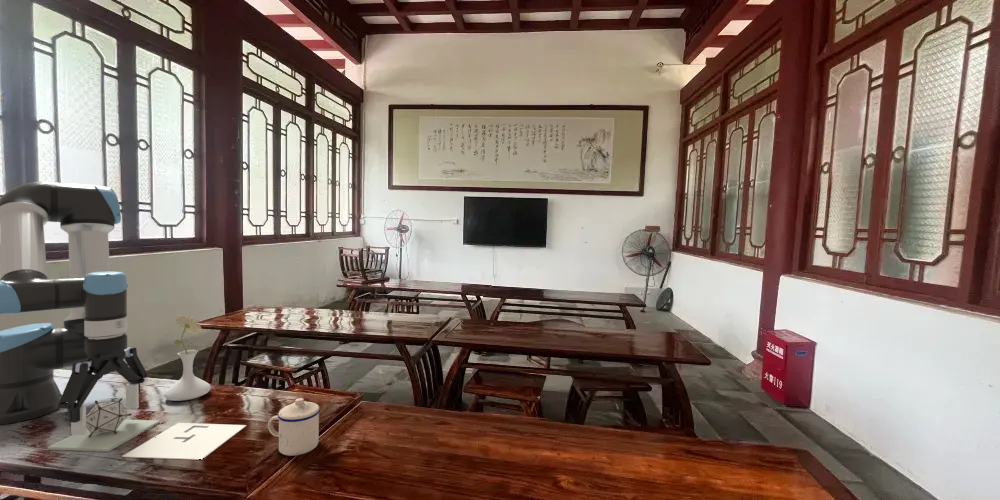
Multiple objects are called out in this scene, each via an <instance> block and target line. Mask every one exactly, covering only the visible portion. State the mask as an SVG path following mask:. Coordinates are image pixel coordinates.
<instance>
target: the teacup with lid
mask: <svg viewBox="0 0 1000 500" xmlns="http://www.w3.org/2000/svg"><path fill="white" fill-rule="evenodd" d="M320 412H321V408H320V406H319V404H317V403H315V402H311V401H306V400H305V399H304V397H299V398H296V399H295V400H294V402H293V403H291V404H288V405H285V406H283V407H282V408H281V409H280V410H279V412H278V414H277V415H273V416H272V417H271V418H270V419H269V420H268V422H267V428H268V431H269V433H270V434H271V435H272V436H274V437H278V452H279V453H280V454H282V455H284V456H289V457H290V456H300V455H304V454H307V453H309V452H311V451H313V450H314V449H315V448H317V446H318V445H319V441H320V440H319V435H320V434H319V433H320V430H319V428H320V427H319V426H320V425H319V424H320V421H319V420H320V417H319V416H320ZM276 420H278V431H277V430H276V428H275V427H274V422H273V421H276Z"/></svg>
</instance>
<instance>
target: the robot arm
mask: <svg viewBox="0 0 1000 500" xmlns="http://www.w3.org/2000/svg"><path fill="white" fill-rule="evenodd" d="M121 219H122V215H121V206H120V201H119V198H118V195H117V193H116V192H115V189H113V188H111V187H109V186H102V185H96V184H84V183H83V184H81V183H80V184H79V183H66V182H56V181H55V182H50V181H32V182H27V183H23V184H21V185H18V186H15V187H14V188H12V189H10V190H9V191H7V192H5V193H4V194H3V195H2V196H0V314H20V313H29V312H41V311H49V310H64V309H70V314H69V315H68V316H67V317H66V318H65V319H63V326H61V327H60V326H59V327H54V325H53V324H52V323H51V322H42V323H31V324H26V325H20V326H15V327H11V328H6V329H4V330H0V425H8V424H13V423H18V422H23V421H28V420H32V419H36V418H39V417H42V416H46V415H48V414H51V413H53V412H55V411H57V410H60V409H61V410H63V409H64V410H67V411H68V413H67V415H68V417H67V418H68V419H67V420H68V422H69V423H70V436H72V435H84V434H86V428H87V427H86V415H87V406H86V405H84V403H85V401H86V400H87V398H88V397H89V395H90V394H91V392H92V391H93V389H94V388H95V385H96V384H97V382H98V381H99V380H101V379H102V378H103V377H104V376H106V375H108V374H110V373H112V372H117V374H119V375H120V376H121V377H123V379H125V380H126V381H127V383H126V384H125V409H126V410H138V409H139V408H140V403H139V401H140V399H139V398H140V397H139V396H140V393H141V384H143V383H144V382H145V379H147V377H148V372H147V370H146V369H145V367H144V365H143V363H142V362H141V360H140V358H139V356H138V351H137V348H136V347H134V346H133V347H130V346H129V347H128V334H127V331H128V313H127V311H128V310H127V309H128V305H127V304H128V303H127V300H128V299H127V297H128V290H127V289H128V286H129V285H128V284H129V283H128V280H127V274H126V273H124V272H123V271H111V269H110V266H111V265H110V248H109V247H110V246H109V245H110V244H109V234H110V233H111V232H112V231H114V230H115V225H118V224H120V223H121V221H122V220H121ZM48 222H50V223H60V224H59V225H60V229H61V230H62V231H64V232H65V233H66V234H67V236H68V238H67V239H68V262H69V263H68V265H69V266H68V269H69V277H65V278H63V277H61V278H48V269H47V258H46V257H47V256H46V254H47V253H46V243H45V242H46V241H45V229H44V227H45V225H46V224H47V223H48ZM66 368H67V369H68V368H71V375H70V376H69V377H68V378H69V379H68V381H67V383H66V385H65V388H64V390H63V392H62V393H61V391H60V389H59V387H58V384H57V383H56V381H55V379H54V370H59V369H60V370H61V369H66Z"/></svg>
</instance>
